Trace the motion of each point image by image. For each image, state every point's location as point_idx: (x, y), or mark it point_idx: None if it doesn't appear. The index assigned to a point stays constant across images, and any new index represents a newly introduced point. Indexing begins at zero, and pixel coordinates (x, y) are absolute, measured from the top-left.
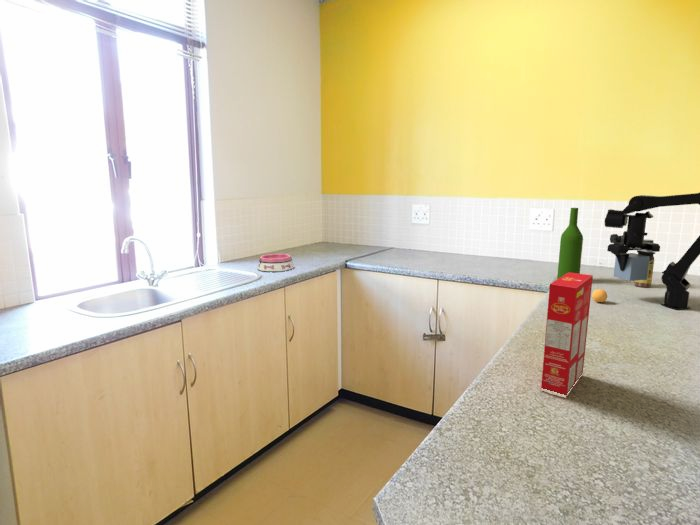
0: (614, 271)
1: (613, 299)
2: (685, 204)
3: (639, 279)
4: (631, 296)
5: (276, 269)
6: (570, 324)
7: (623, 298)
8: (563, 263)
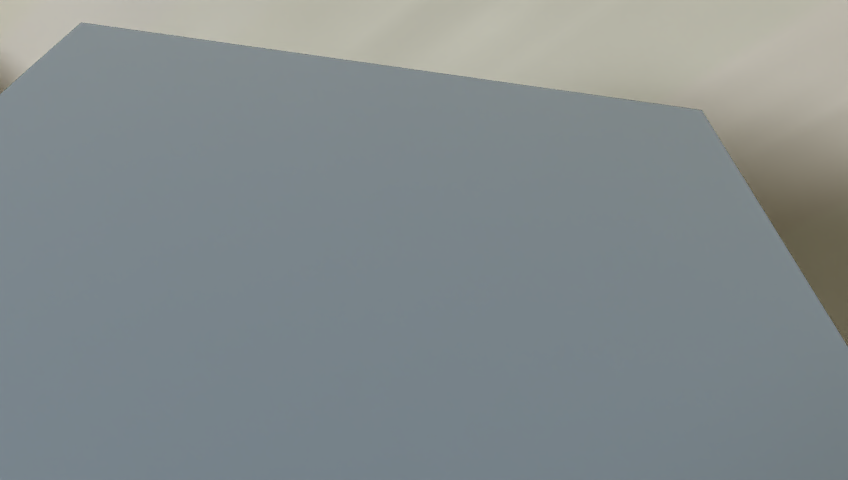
0: (9, 107)
1: (153, 22)
2: None
3: None
4: (604, 10)
5: None
6: None
7: (362, 44)
8: None
